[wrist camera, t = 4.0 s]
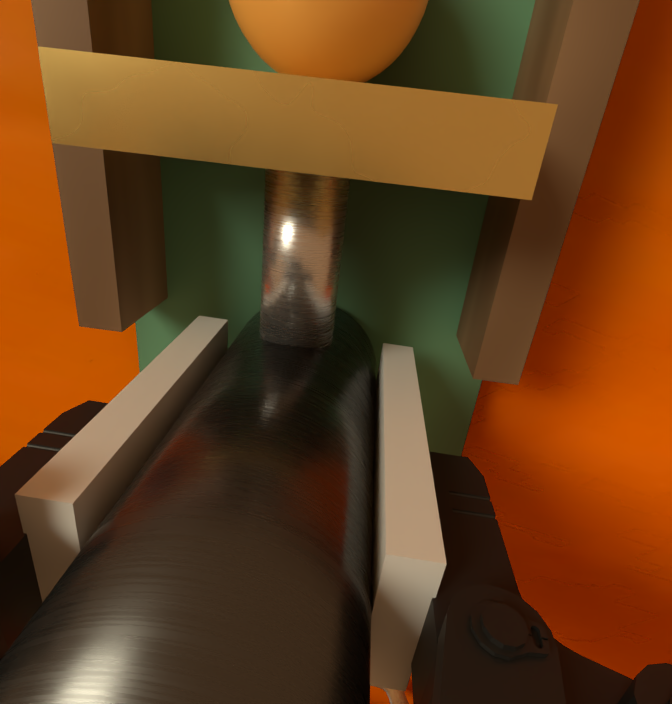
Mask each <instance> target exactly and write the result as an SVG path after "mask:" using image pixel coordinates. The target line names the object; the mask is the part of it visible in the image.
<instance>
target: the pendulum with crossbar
mask: <svg viewBox="0 0 672 704" xmlns="http://www.w3.org/2000/svg"><path fill="white" fill-rule="evenodd" d="M38 52H39V58H40V65H41V72H42V79H43V85H44V92H45V99H46V106H47V112H48V119H49V126H50V133H51V140H52V143H55V144H64V145H72V146H80V147H89V148H97V149H106V150H114V151H122V152H131V153H139V154H147V155H156V156H164V157H173V158H181V159H189V160H198V161H206V162H215V163H223V164H231V165H240V166H248V167H257V168H265V197H264V225H263V253H262V281H261V309H260V311H259V312H257V313H256V314H255V315H254V316H253V317H252V318H251V319H250V320H249V321H248V322H247V324H246V325H245V326H244V327H243V329H242V330H241V332H240V333H239V334H238V336H237V337H236V338H235V340H234V341H233V343H232V344H231V345H230V347H229V348H228V349H227V351H226V352H225V354H224V355H223V356H222V358H221V359H220V360H219V362H218V363H217V364H216V366H215V367H214V369H213V370H212V371H211V373H210V374H209V375H208V377H207V378H206V380H205V381H204V382H203V384H202V385H201V386H200V388H199V389H198V390H197V392H196V393H195V395H194V396H193V397H192V399H191V400H190V401H189V403H188V404H187V406H186V407H185V408H184V410H183V411H182V412H181V414H180V415H179V417H178V418H177V419H176V421H175V422H174V423H173V425H172V426H171V427H170V429H169V430H168V432H167V433H166V434H165V436H164V437H163V438H162V440H161V441H160V443H159V444H158V445H157V447H156V448H155V449H154V451H153V452H152V453H151V455H150V456H149V458H148V459H147V460H146V462H145V463H144V464H143V466H142V467H141V469H140V470H139V471H138V473H137V474H136V475H135V477H134V478H133V479H132V481H131V482H130V484H129V485H128V486H127V488H126V489H125V490H124V492H123V493H122V495H121V496H120V497H119V499H118V500H117V501H116V503H115V504H114V506H113V507H112V508H111V510H110V511H109V512H108V514H107V515H106V516H105V518H104V519H103V521H102V522H101V523H100V525H99V526H98V527H97V529H96V530H95V532H94V533H93V534H92V536H91V537H90V538H89V540H88V541H87V542H86V544H85V545H84V547H83V548H82V549H81V551H80V552H79V553H78V555H77V556H76V558H75V559H74V560H73V562H72V563H71V564H70V566H69V567H68V569H67V570H66V571H65V573H64V574H63V575H62V577H61V578H60V579H59V581H58V582H57V584H56V585H55V586H54V588H53V589H52V590H51V592H50V593H49V595H48V596H47V597H46V599H45V600H44V601H43V603H42V604H41V605H40V607H39V608H38V610H37V611H36V612H35V614H34V615H33V616H32V618H31V619H30V621H29V622H28V623H27V625H26V626H25V627H24V629H23V630H22V632H21V633H20V634H19V636H18V637H17V638H16V640H15V641H14V642H13V644H12V645H11V647H10V648H9V649H8V651H7V652H6V653H5V655H4V656H3V658H2V659H1V660H0V704H370V657H371V606H372V555H373V505H374V454H375V403H376V358H375V353H374V349H373V346H372V344H371V341H370V339H369V337H368V336H367V334H366V332H365V331H364V330H363V328H362V327H361V326H360V324H359V323H358V322H357V321H356V320H355V319H354V318H352V317H351V316H350V315H349V314H348V313H346V312H345V311H343V310H341V309H340V308H338V307H336V302H337V293H338V284H339V275H340V266H341V257H342V248H343V239H344V230H345V221H346V211H347V202H348V193H349V184H350V179H357V180H366V181H374V182H382V183H391V184H399V185H408V186H416V187H424V188H433V189H441V190H450V191H458V192H466V193H475V194H483V195H492V196H500V197H508V198H517V199H525V200H532V197H533V193H534V190H535V186H536V182H537V179H538V175H539V172H540V168H541V164H542V161H543V157H544V153H545V150H546V146H547V143H548V139H549V135H550V132H551V128H552V124H553V121H554V117H555V114H556V110H557V106H558V104H550V103H541V102H532V101H523V100H514V99H505V98H496V97H487V96H478V95H469V94H460V93H451V92H442V91H433V90H425V89H416V88H407V87H398V86H389V85H380V84H371V83H362V82H353V81H344V80H335V79H326V78H317V77H308V76H299V75H290V74H281V73H272V72H263V71H254V70H245V69H236V68H227V67H218V66H209V65H200V64H191V63H182V62H173V61H164V60H155V59H146V58H138V57H129V56H120V55H111V54H102V53H93V52H84V51H75V50H66V49H57V48H48V47H39V46H38Z"/></svg>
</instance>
